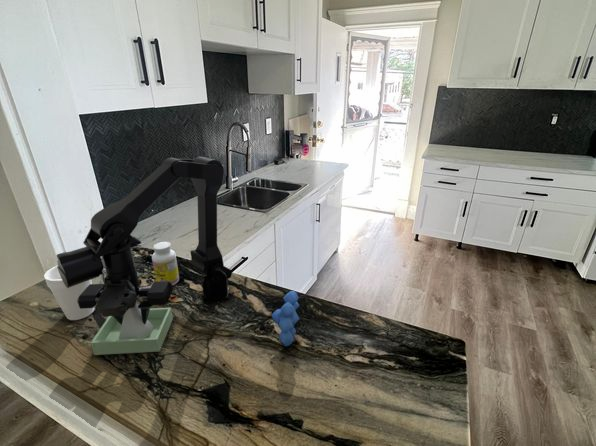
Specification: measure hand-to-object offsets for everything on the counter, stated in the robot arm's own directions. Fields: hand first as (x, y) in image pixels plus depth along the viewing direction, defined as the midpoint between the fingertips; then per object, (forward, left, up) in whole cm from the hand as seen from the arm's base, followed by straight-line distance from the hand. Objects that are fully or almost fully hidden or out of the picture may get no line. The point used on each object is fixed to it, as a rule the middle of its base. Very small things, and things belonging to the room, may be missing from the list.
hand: (134, 323), depth 75 cm
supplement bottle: (-1, -23, -4) cm, 23 cm away
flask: (0, 0, -3) cm, 3 cm away
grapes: (-36, +3, -4) cm, 36 cm away
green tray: (0, 0, -4) cm, 4 cm away
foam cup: (+18, -10, -4) cm, 21 cm away
